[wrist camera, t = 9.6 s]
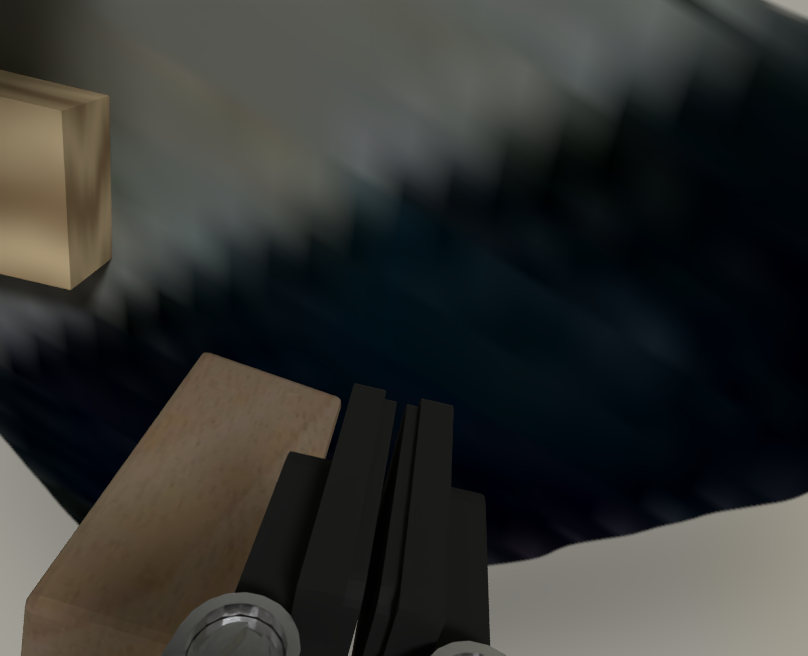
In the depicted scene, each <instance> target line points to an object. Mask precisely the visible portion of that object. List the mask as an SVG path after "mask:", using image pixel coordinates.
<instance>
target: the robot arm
mask: <svg viewBox="0 0 808 656" xmlns="http://www.w3.org/2000/svg"><path fill="white" fill-rule="evenodd" d="M385 394H386V390H382V389H377V388H373V387H368V386H364V385H360V384H354V387H353V390H352V393H351V397H350V401H349V404H348V408H347V411H346V415H345V418H344V422H343V425H342V429H341V432H340V436H339V439H338V443H337V446H336V450H335V453H334V457H333V460H328V459H324V458H319V457H315V456H310V455H306V454H301V453H297V452H293V451H290V452H289V453H288V455H287V458H286V460H285V462H284V465H283V468H282V470H281V473H280V475H279V478H278V481H277V483H276V486H275V488H274V491H273V494H272V496H271V499H270V502H269V504H268V507H267V509H266V512H265V515H264V517H263V520H262V522H261V525H260V528H259V530H258V533H257V536H256V538H255V541H254V543H253V546H252V549H251V551H250V554H249V556H248V559H247V562H246V564H245V567H244V569H243V572H242V575H241V577H240V580H239V583H238V585H237V588H236V590H235V593H227V594H224V595H221V596H218V597H215V598H212V599H209V600H208V601H206V602H205V603H203V604H202V605H200V606H199V607H197V608H196V609H194V610H193V611H192V612H191V613H190V614H189V615H188V617H187V618H186V619H185V620H184V621H183V622H182V624H181V625H180V626H179V628H178V629H177V631H176V632H175V634H174V635H173V637H172V639H171V640H170V642H169V643H168V645H167V646H166V648H165V650H164V651H163V653H162V654H161V656H348V653H349V649H350V645H351V642H352V638H353V634H354V631H355V627H356V624H357V627H356V633H355V639H354V645H353V651H352V656H506V655H505V654H503V653H502V652H500V651H498V650H496V649H494V648H492V647H490V628H489V601H488V600H489V598H488V568H487V537H486V507H485V498H484V496H483V494H480V493H475V492H471V491H466V490H462V489H457V488H453V487H451V466H452V437H453V406H452V405H448V404H443V403H439V402H434V401H430V400H426V399H421V400H420V402H419V405H418V407H417V406H413V405H408V404H407V405H406V408H405V411H404V415H403V419H402V423H401V426H400V430H399V434H398V438H397V442H396V445H395V449H394V453H393V457H392V460H391V464H390V468H389V472H388V476H387V479H386V483H385V487H384V491H383V495H382V498H381V492H382V487H383V481H384V475H385V469H386V463H387V457H388V451H389V445H390V439H391V434H392V428H393V422H394V416H395V410H396V404H397V402H395V401H391V400H386V399H385ZM380 498H381V502H380ZM379 504H380V506H379ZM357 620H358V621H357Z"/></svg>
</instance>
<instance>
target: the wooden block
mask: <svg viewBox="0 0 808 656" xmlns="http://www.w3.org/2000/svg"><path fill="white" fill-rule="evenodd" d="M340 408H341V401H340V399H339V398H338V397H337V396H334V395H331V394H328V393H325V392H322V391H319V390H316V389H313V388H311V387H308V386H305V385H302V384H299V383H296V382H293V381H290V380H287V379H284V378H281V377H279V376H276V375H273V374H270V373H267V372H264V371H261V370H258V369H255V368H252V367H250V366H247V365H244V364H241V363H238V362H235V361H232V360H229V359H226V358H223V357H221V356H218V355H215V354H212V353H204V354H202V355H201V357H200V358H199V359H198V361H197V362H196V363H195V365H194V366H193V368H192V369H191V370H190V372H189V373H188V374H187V376H186V377H185V379H184V380H183V381H182V383H181V384H180V386H179V387H178V388H177V390H176V391H175V393H174V394H173V395H172V397H171V398H170V400H169V401H168V402H167V404H166V405H165V407H164V408H163V409H162V411H161V412H160V414H159V415H158V416H157V418H156V419H155V421H154V422H153V423H152V425H151V426H150V428H149V429H148V430H147V432H146V433H145V435H144V436H143V437H142V439H141V440H140V442H139V443H138V444H137V446H136V447H135V449H134V450H133V451H132V453H131V454H130V456H129V457H128V458H127V460H126V461H125V462H124V464H123V465H122V467H121V468H120V469H119V471H118V472H117V474H116V475H115V476H114V478H113V479H112V481H111V482H110V483H109V485H108V486H107V488H106V489H105V490H104V492H103V493H102V495H101V496H100V497H99V499H98V500H97V502H96V503H95V504H94V506H93V507H92V509H91V510H90V511H89V513H88V514H87V516H86V517H85V518H84V520H83V521H82V523H81V524H80V525H79V527H78V528H77V530H76V531H75V533H74V534H73V535H72V537H71V538H70V539H69V541H68V542H67V544H66V545H65V546H64V548H63V549H62V550H61V552H60V553H59V555H58V556H57V558H56V559H55V560H54V562H53V563H52V564H51V566H50V567H49V569H48V570H47V572H46V573H45V574H44V576H43V577H42V579H41V580H40V581H39V583H38V584H37V585H36V587H35V588H34V590H33V591H32V592H31V594H30V595H29V597H28V598H27V600H26V605H25V614H24V626H23V639H22V651H21V656H161V654H162V653H163V651H164V650H165V648H166V646H167V645H168V643H169V642H170V640H171V639H172V637H173V635H174V634H175V632H176V631H177V629H178V628H179V626H180V625H181V624H182V622H183V621H184V620H185V619H186V618H187V617H188V615H189V614H190V613H191V612H192V611H193V610H194V609H196V608H197V607H199V606H200V605H202V604H203V603H205V602H206V601H208V600H209V599H212V598H215V597H218V596H221V595H224V594H227V593H235V590H236V588H237V585H238V583H239V580H240V577H241V575H242V572H243V569H244V567H245V564H246V562H247V559H248V556H249V554H250V551H251V549H252V546H253V543H254V541H255V538H256V536H257V533H258V530H259V528H260V525H261V522H262V520H263V517H264V515H265V512H266V509H267V507H268V504H269V502H270V499H271V496H272V494H273V491H274V488H275V486H276V483H277V481H278V478H279V475H280V473H281V470H282V468H283V465H284V462H285V460H286V458H287V455H288V453H289V452H290V451H293V452H297V453H301V454H306V455H310V456H315V457H319V458H324V459H325V458H326V454H327V451H328V448H329V444H330V441H331V438H332V434H333V431H334V428H335V424H336V421H337V418H338V414H339V411H340Z"/></svg>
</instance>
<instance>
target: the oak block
mask: <svg viewBox="0 0 808 656" xmlns="http://www.w3.org/2000/svg"><path fill="white" fill-rule="evenodd" d="M110 259H112V234H111V172H110V109H109V96H108V95H104V94H100V93H96V92H92V91H87V90H83V89H79V88H75V87H71V86H67V85H62V84H58V83H54V82H50V81H46V80H41V79H37V78H33V77H29V76H25V75H21V74H16V73H12V72H8V71H4V70H0V274H3V275H7V276H12V277H16V278H20V279H25V280H29V281H33V282H38V283H42V284H46V285H51V286H55V287H59V288H64V289H68V290H72V289H73V288H74V287H76V286H77V285H78V284H79V283H81V282H82V281H83V280H85V279H86V278H87V277H88V276H90V275H91V274H92V273H94V272H95V271H96V270H97V269H99V268H100V267H101V266H103V265H104V264H105V263H106V262H108V261H109V260H110Z"/></svg>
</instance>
